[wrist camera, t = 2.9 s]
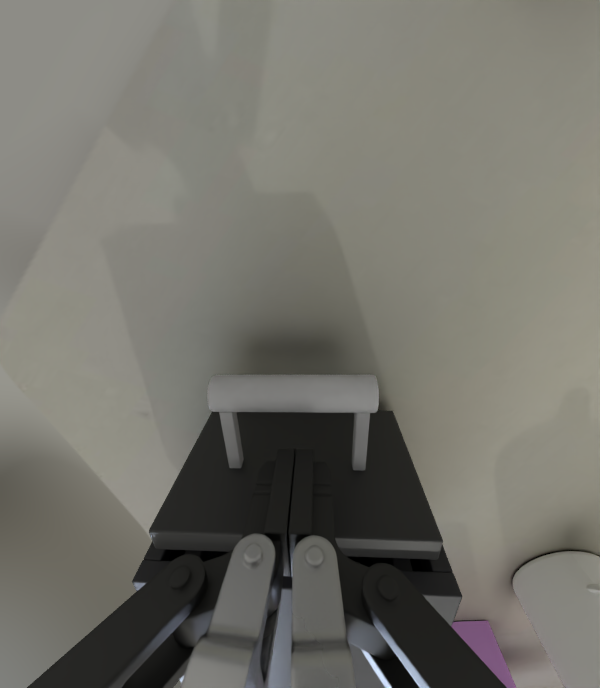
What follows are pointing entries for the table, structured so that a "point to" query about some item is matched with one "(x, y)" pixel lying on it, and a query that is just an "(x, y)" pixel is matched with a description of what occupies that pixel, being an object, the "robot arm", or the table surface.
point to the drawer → (328, 446)
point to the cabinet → (428, 580)
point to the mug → (565, 612)
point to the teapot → (485, 647)
